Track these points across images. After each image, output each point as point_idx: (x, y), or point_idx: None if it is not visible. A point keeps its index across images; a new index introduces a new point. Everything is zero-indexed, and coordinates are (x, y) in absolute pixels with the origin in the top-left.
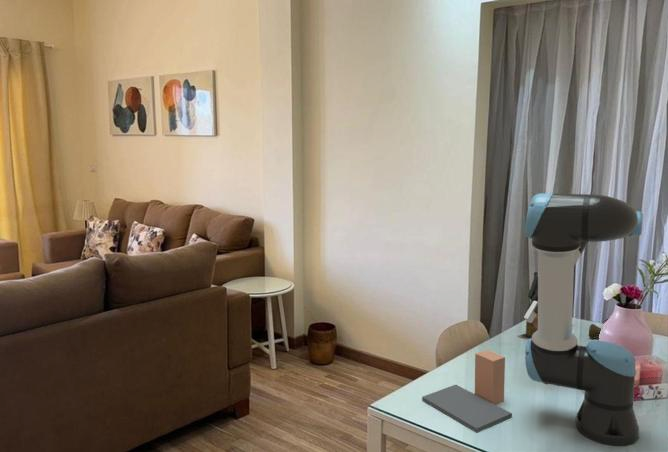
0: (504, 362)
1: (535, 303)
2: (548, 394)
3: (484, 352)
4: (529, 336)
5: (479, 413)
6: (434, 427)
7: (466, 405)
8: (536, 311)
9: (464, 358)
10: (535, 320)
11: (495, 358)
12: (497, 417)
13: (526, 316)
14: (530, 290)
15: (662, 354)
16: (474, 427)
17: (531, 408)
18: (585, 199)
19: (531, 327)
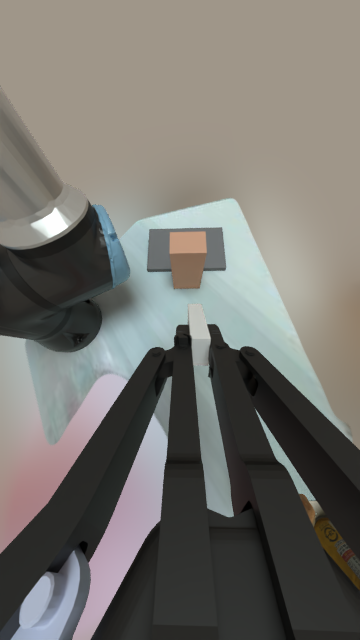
0: (170, 258)
1: (194, 332)
2: (154, 340)
3: (200, 243)
4: (326, 519)
5: (165, 246)
6: (177, 213)
7: None
8: (179, 325)
9: (291, 335)
10: (306, 503)
11: (174, 240)
12: (150, 254)
13: (195, 306)
14: (277, 373)
15: None
16: (152, 229)
17: (146, 299)
18: None
19: (344, 543)
